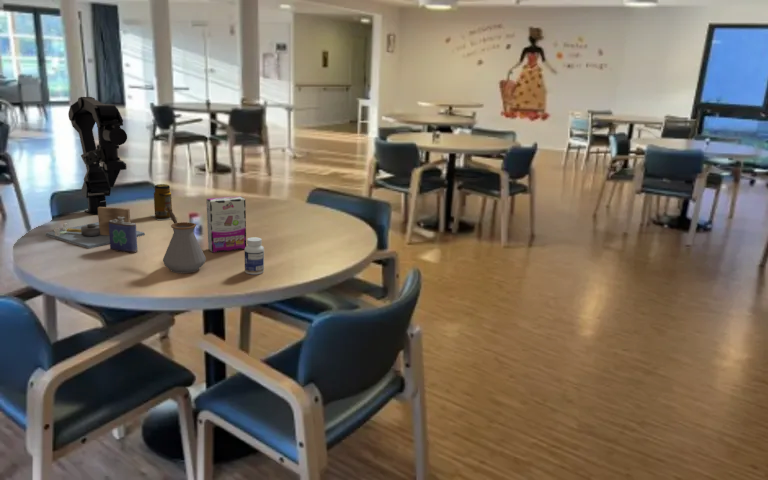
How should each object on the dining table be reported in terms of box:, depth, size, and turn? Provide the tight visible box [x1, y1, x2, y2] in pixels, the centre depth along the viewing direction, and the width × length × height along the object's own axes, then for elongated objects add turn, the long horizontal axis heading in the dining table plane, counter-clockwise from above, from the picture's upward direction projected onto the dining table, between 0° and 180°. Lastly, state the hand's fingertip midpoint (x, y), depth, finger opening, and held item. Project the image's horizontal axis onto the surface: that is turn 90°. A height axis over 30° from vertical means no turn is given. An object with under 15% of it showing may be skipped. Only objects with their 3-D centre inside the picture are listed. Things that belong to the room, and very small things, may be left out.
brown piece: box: [67, 206, 131, 236], centre depth 186 cm, size 20×6×9 cm, turn 88°
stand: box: [45, 221, 145, 249], centre depth 189 cm, size 22×20×3 cm
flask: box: [109, 217, 139, 254], centre depth 175 cm, size 9×3×11 cm, turn 74°
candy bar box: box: [206, 196, 247, 254], centre depth 182 cm, size 11×5×16 cm, turn 122°
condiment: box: [150, 183, 178, 221], centre depth 215 cm, size 7×8×12 cm
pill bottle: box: [244, 236, 265, 275], centre depth 164 cm, size 5×5×10 cm
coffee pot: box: [162, 206, 207, 274], centre depth 166 cm, size 21×12×15 cm, turn 34°
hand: (111, 187), depth 203 cm, fingers closed
